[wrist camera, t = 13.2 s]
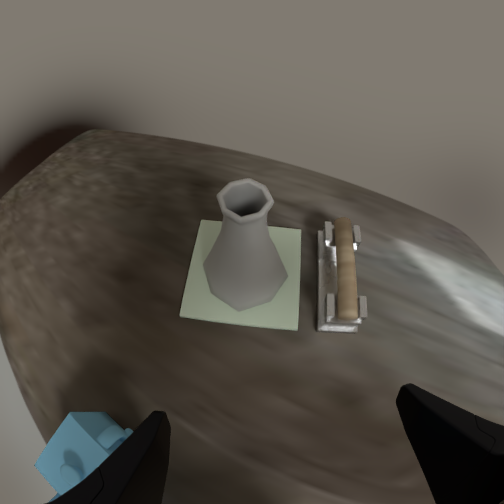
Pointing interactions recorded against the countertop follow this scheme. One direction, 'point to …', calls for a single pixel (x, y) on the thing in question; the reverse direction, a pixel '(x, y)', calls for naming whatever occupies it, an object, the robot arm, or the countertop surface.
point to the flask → (244, 248)
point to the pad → (265, 315)
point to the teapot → (79, 448)
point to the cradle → (333, 284)
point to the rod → (345, 270)
